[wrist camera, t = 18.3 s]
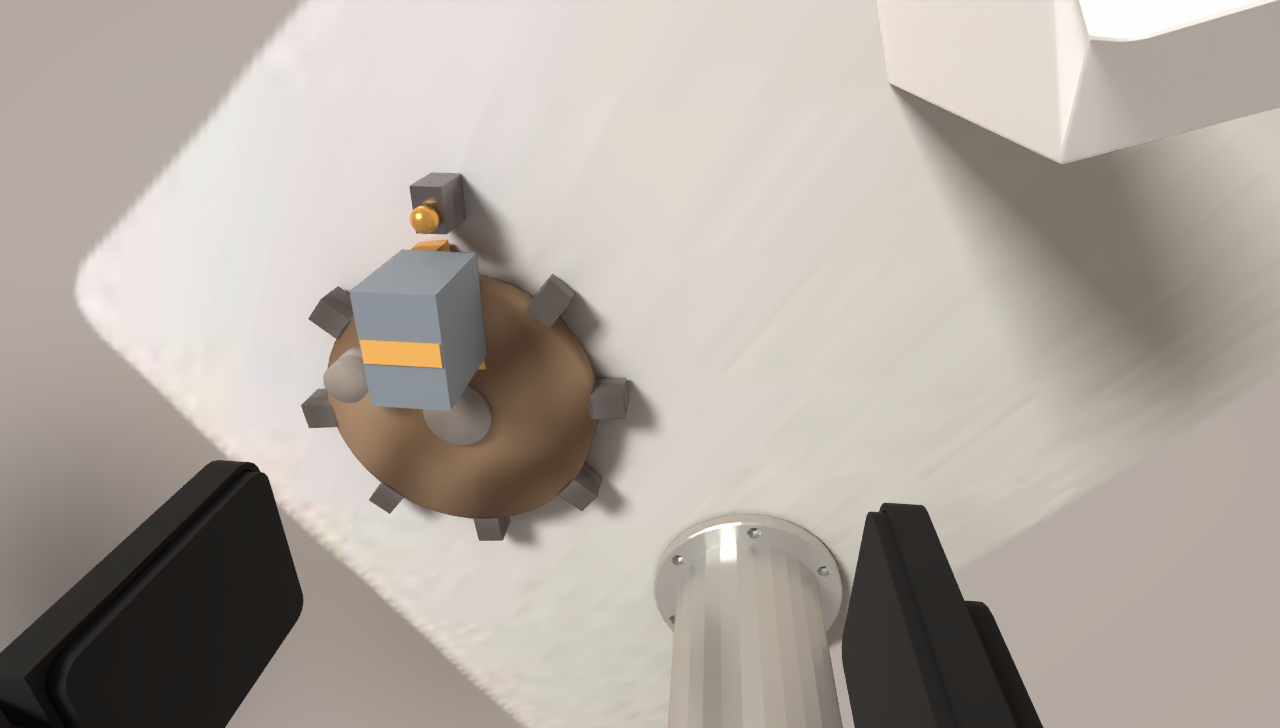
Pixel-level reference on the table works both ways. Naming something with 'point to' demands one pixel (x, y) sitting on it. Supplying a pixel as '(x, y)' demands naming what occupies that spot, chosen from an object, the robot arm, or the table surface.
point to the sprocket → (478, 413)
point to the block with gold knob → (437, 203)
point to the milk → (1086, 66)
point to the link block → (420, 328)
